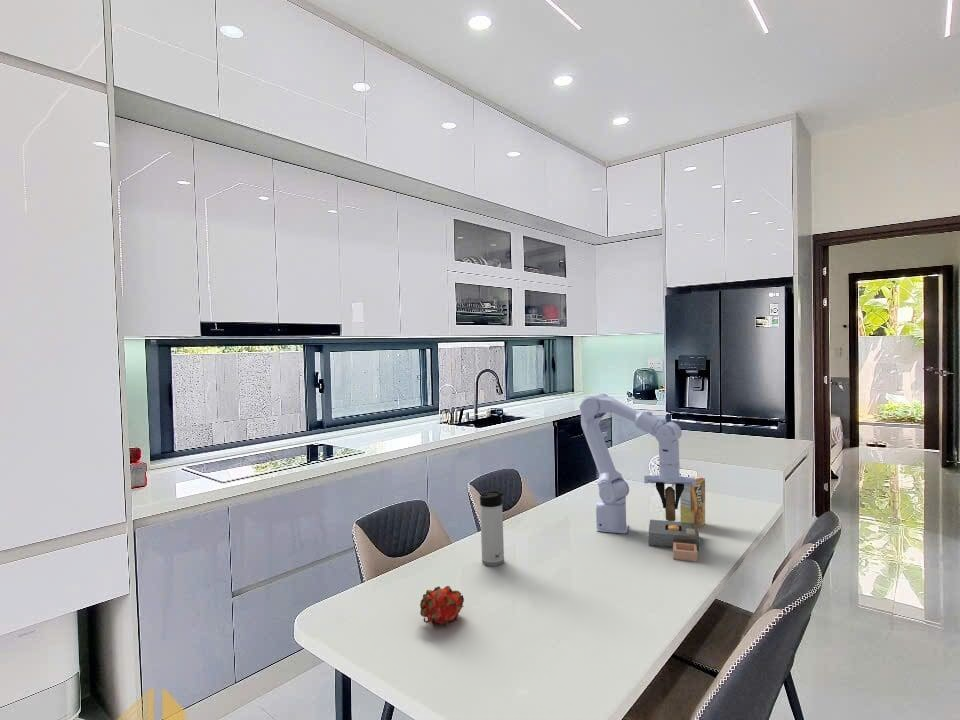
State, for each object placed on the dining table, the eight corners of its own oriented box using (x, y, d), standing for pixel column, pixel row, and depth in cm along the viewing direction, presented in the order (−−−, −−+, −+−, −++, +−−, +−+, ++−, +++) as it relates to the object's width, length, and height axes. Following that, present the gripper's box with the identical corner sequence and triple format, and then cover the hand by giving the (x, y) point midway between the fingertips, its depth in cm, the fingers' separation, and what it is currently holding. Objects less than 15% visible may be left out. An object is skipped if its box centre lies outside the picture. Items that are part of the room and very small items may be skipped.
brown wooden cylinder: (664, 520, 160) (664, 487, 160) (666, 517, 163) (665, 485, 162) (674, 521, 159) (673, 488, 158) (676, 518, 161) (675, 485, 161)
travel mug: (503, 567, 147) (500, 495, 147) (480, 566, 149) (477, 495, 148) (506, 558, 154) (504, 489, 153) (484, 557, 155) (481, 488, 154)
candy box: (694, 521, 178) (693, 475, 178) (706, 524, 175) (705, 478, 175) (680, 527, 173) (679, 480, 172) (692, 531, 169) (691, 483, 169)
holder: (673, 559, 149) (673, 550, 149) (673, 550, 154) (673, 542, 154) (697, 561, 147) (697, 552, 146) (696, 552, 152) (696, 544, 152)
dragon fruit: (415, 637, 117) (459, 625, 124) (435, 626, 112) (479, 614, 119) (406, 597, 121) (449, 588, 129) (425, 584, 116) (468, 576, 124)
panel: (648, 545, 159) (648, 531, 158) (650, 531, 170) (650, 518, 170) (699, 550, 154) (699, 536, 154) (697, 535, 165) (697, 522, 165)
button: (667, 532, 161) (667, 528, 161) (668, 529, 164) (667, 524, 164) (679, 533, 160) (679, 529, 160) (679, 530, 163) (679, 525, 163)
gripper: (643, 464, 159) (644, 509, 160) (695, 467, 154) (696, 513, 155) (644, 459, 166) (645, 502, 166) (694, 461, 161) (696, 506, 161)
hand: (670, 507), depth 161 cm, fingers closed on brown wooden cylinder, 3 cm apart
